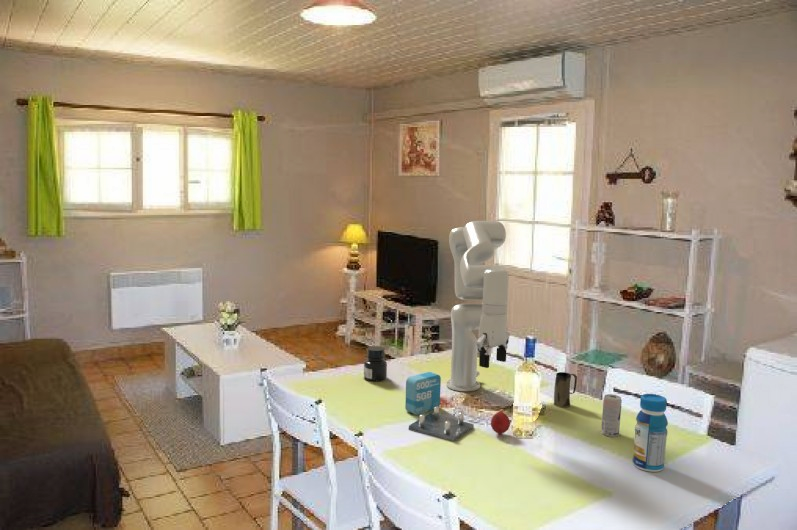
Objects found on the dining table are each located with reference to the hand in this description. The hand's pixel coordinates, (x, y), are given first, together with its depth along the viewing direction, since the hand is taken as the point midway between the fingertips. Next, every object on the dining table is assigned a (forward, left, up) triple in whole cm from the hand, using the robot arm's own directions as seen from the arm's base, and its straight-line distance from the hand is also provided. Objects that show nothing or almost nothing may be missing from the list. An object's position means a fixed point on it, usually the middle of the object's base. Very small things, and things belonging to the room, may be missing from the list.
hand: (492, 363), depth 202 cm
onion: (+1, +4, -22) cm, 22 cm away
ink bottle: (-21, -58, -22) cm, 66 cm away
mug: (-36, +12, -22) cm, 44 cm away
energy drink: (-20, +32, -22) cm, 43 cm away
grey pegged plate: (+7, -13, -22) cm, 26 cm away
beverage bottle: (-3, +47, -22) cm, 52 cm away
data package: (-3, -26, -22) cm, 34 cm away
